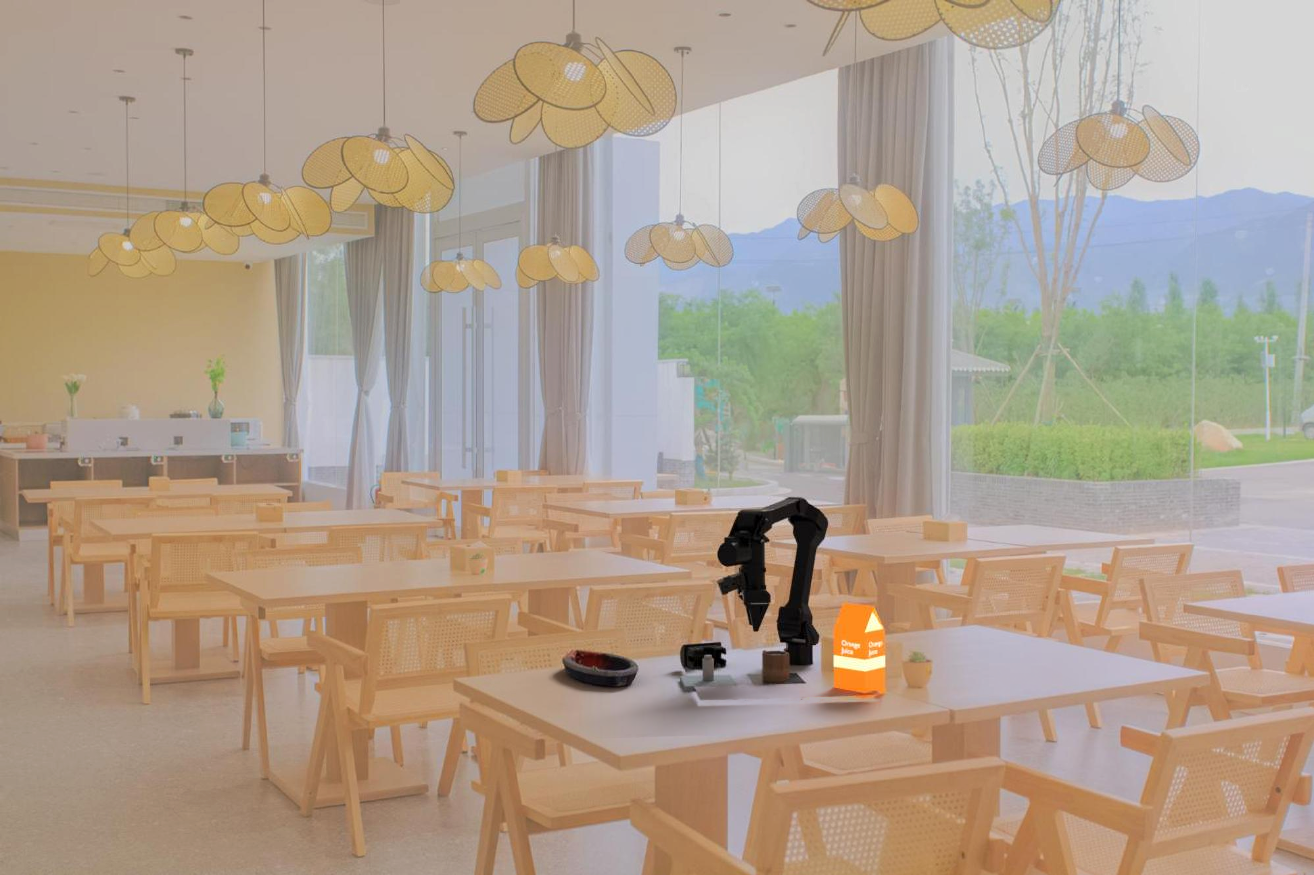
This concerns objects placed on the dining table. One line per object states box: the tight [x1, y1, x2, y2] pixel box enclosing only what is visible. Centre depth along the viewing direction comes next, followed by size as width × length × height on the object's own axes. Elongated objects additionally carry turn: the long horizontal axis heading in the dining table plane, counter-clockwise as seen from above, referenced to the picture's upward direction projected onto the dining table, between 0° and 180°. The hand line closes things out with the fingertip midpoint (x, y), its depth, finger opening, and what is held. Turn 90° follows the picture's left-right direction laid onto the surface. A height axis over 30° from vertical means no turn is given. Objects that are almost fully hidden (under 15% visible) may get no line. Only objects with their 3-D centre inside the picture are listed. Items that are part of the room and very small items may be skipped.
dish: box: [561, 649, 639, 687], centre depth 302 cm, size 16×31×5 cm, turn 23°
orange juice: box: [833, 602, 886, 699], centre depth 282 cm, size 8×9×20 cm
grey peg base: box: [679, 655, 738, 692], centre depth 291 cm, size 12×12×7 cm
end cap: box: [679, 641, 727, 672], centre depth 309 cm, size 10×7×7 cm
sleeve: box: [761, 650, 791, 681], centre depth 292 cm, size 6×6×7 cm
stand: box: [746, 654, 807, 686], centre depth 292 cm, size 12×12×7 cm
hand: (753, 628), depth 296 cm, fingers open, 9 cm apart
